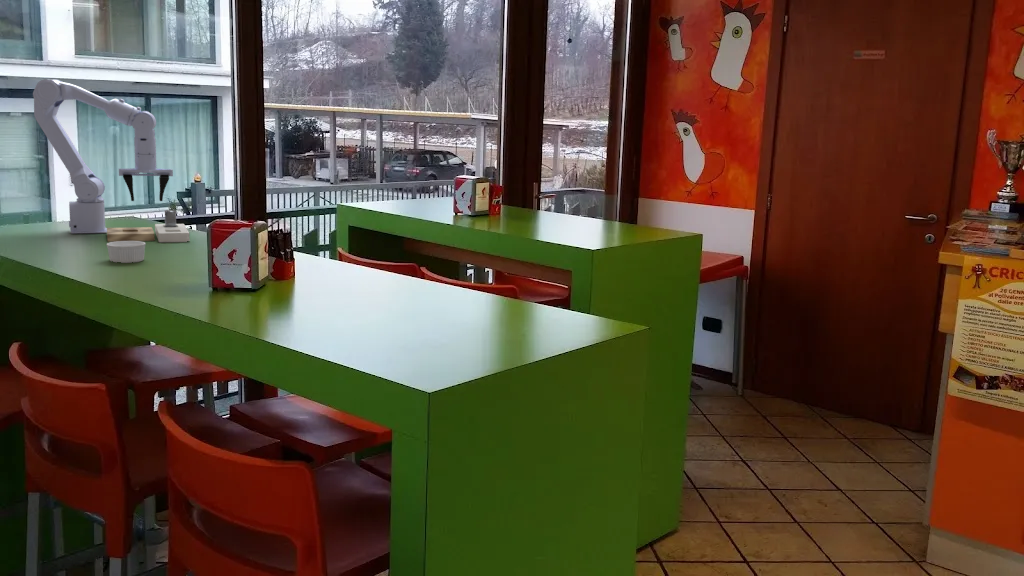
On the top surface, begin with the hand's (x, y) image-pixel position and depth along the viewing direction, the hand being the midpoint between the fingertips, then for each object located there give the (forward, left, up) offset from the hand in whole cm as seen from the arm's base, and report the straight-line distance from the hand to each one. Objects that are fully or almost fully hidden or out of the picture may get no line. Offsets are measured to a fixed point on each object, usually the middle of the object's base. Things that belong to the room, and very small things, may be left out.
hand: (146, 200), depth 265 cm
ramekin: (-7, -44, -10) cm, 46 cm away
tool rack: (+6, -9, -9) cm, 14 cm away
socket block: (-5, -9, -9) cm, 14 cm away
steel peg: (+6, -5, -9) cm, 12 cm away
